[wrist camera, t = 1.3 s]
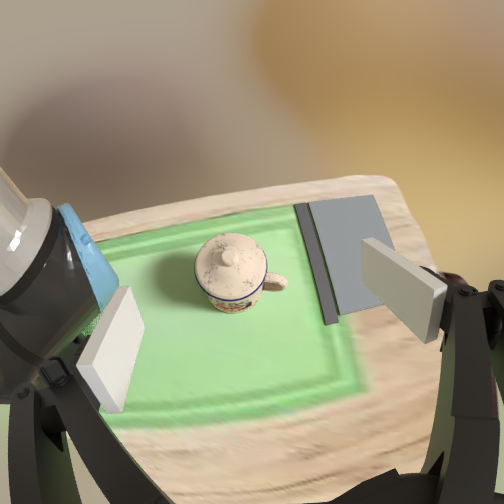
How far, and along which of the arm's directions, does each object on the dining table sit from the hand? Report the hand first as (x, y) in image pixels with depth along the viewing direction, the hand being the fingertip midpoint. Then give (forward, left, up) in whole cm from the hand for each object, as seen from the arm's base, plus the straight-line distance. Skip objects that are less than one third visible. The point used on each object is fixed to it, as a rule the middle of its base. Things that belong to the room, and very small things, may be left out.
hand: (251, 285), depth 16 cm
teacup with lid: (0, +8, -28) cm, 29 cm away
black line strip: (+12, +11, -28) cm, 32 cm away
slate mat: (+20, +11, -28) cm, 36 cm away
